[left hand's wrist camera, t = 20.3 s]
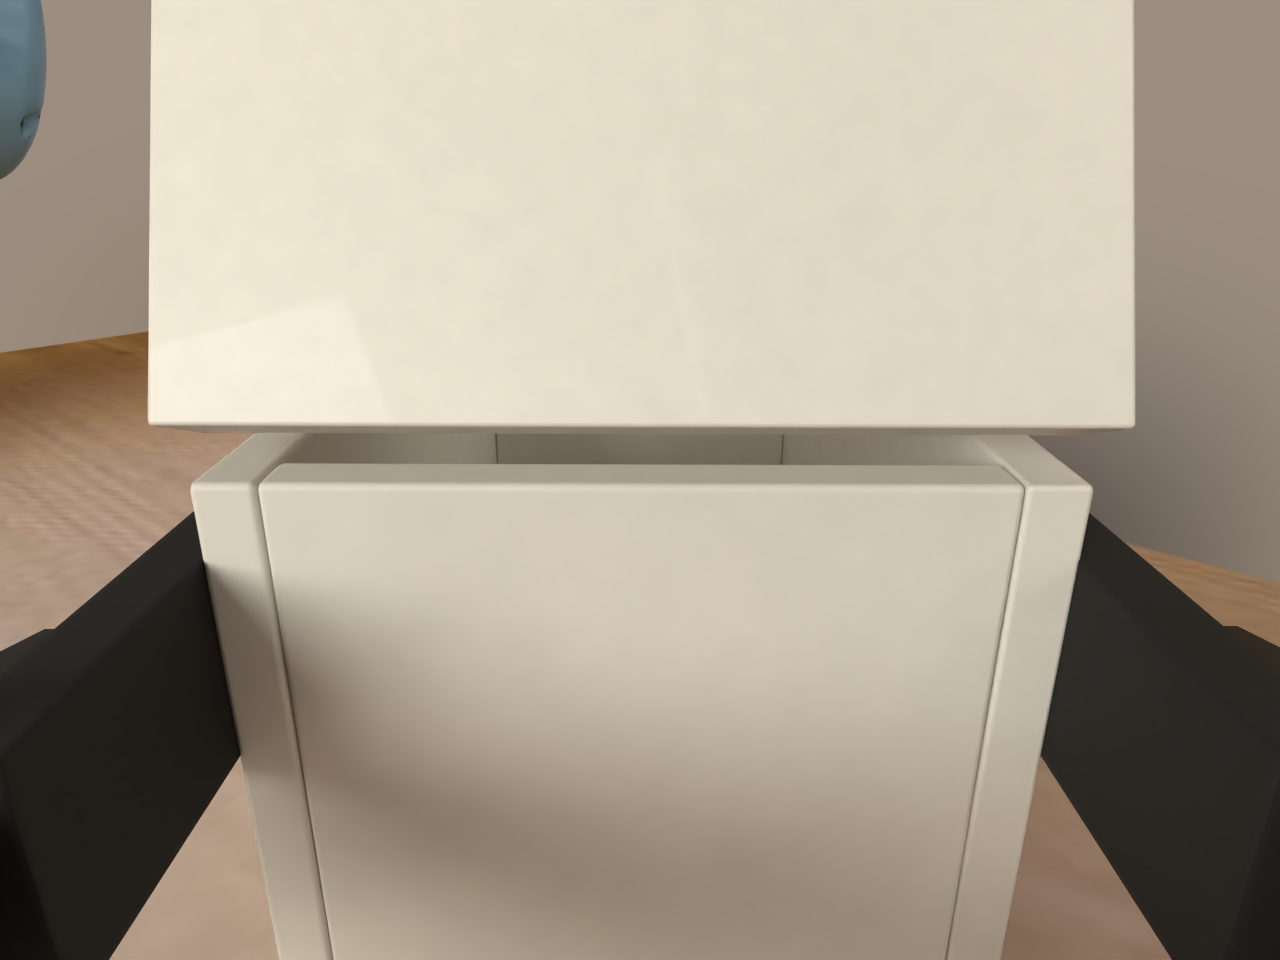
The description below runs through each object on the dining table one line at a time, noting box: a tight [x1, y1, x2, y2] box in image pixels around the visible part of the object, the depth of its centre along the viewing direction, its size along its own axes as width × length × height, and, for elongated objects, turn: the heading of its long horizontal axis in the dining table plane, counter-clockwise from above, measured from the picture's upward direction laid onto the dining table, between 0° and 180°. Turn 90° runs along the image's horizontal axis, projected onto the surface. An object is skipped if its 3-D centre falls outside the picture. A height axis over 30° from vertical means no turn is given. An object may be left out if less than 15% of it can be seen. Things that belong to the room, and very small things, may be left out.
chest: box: [190, 433, 1093, 960], centre depth 19 cm, size 17×10×9 cm, turn 0°
